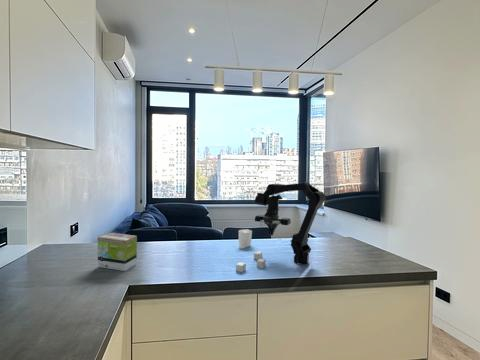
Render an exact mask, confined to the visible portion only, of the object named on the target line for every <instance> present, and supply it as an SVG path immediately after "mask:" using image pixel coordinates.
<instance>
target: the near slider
mask: <svg viewBox="0 0 480 360" xmlns="http://www.w3.org/2000/svg"><path fill="white" fill-rule="evenodd" d="M246 264H247V263H246V262H241V261H239V262H238V263H236V264H235V265H236V266H235V271H236V272H240V273H243V272H244V271H246V269H247V268H246Z"/></svg>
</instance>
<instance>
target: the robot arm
mask: <svg viewBox="0 0 480 360" xmlns="http://www.w3.org/2000/svg"><path fill="white" fill-rule="evenodd" d="M296 191H302V192H303V193H304V195H305V196H306V198H307V199H308V201H307V205H308V206H307V207H308V208H307V210H306V213H305V216H304V218H303V220H302V223H301V226H300V228H299V231H298V232H297V233H294V234H292V237H291V240H290V246H291V249H292V251H293V263H295V264H298V265H303V266H304V265H308V264H309V262H310V261H309V258H310V254H309V253H311V251H312V248H311V247H310V245H309V244H308V243H309V238H308V237H309V233H310V230H311V227H312V225H313V222H314V220H315V217H316V215H317V213H318V211H319V209H320V208H321V207H322V206H323V205H324V203H325V201H326V199H327V197H326V194H325V193H324V192H323V191H320V190H319V189H318V188H316V187H315V186H313V185H312V184H311V183H310V182H307V181H304V182H299V183H289V184H284V183H269V184H268V185H267V186H266V189H265V190H264V191H263V192H257V195H256V196H255V197H254V203H255V204H256V205H258V206H264V207H266V206H267V208H266V213H264V214H256V215H255V217H254V221H255V222H258V223H259V222H262V221H263V223H264V224H265V225H266V226H267V228H268V231H269V234H270V236H274V234H275V232H276V229H277V227H278V226H279V225H280V224H281V226H289V225H290V224H291V219H290V218H288V217H282V218H279V211H280V209H279V204H280V203H279V201H280V200H283V197H282V196H281V195H280V194H282V193H285V192H296Z"/></svg>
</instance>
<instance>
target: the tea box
mask: <svg viewBox="0 0 480 360" xmlns="http://www.w3.org/2000/svg"><path fill="white" fill-rule="evenodd" d="M137 245H138V236H137V235H131V234H125V233H118V232H116V233H115V232H109V233H106V234H104V235H101V236H98V237H97V268H103V269H110V270H116V271H121V272H126V271H128V270H130V269H131V268H133V267H135V266H136V265H137V258H138V256H137V254H138V252H137V250H138V248H137V247H138V246H137Z"/></svg>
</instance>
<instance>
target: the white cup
mask: <svg viewBox="0 0 480 360" xmlns="http://www.w3.org/2000/svg"><path fill="white" fill-rule="evenodd" d="M252 235H253V230H251V229H239V230H238V248H239V249H245V248H247V247H248V248H249V247H251V246H252V245H251V244H252Z"/></svg>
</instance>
